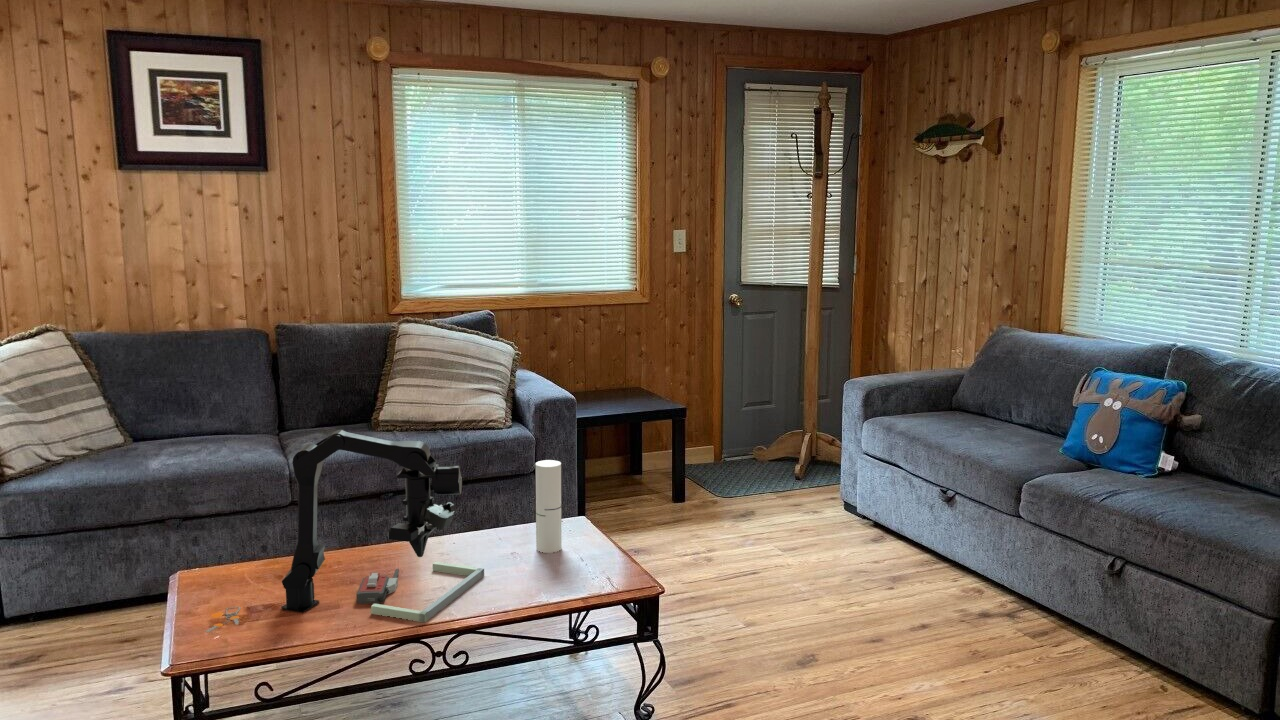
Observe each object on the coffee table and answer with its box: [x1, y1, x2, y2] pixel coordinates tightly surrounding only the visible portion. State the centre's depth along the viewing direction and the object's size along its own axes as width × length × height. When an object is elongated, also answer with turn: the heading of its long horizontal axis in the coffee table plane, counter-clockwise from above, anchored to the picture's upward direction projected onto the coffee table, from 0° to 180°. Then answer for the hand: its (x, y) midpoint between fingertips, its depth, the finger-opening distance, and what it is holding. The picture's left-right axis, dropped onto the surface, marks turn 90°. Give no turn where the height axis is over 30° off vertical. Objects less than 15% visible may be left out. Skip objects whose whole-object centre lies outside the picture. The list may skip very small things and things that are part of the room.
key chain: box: [205, 606, 241, 633], centre depth 225 cm, size 13×7×1 cm, turn 15°
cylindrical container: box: [535, 459, 562, 554], centre depth 270 cm, size 7×7×25 cm
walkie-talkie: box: [356, 568, 400, 605], centre depth 243 cm, size 9×4×20 cm
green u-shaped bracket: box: [370, 561, 485, 624], centre depth 240 cm, size 30×14×2 cm, turn 162°
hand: (420, 556), depth 233 cm, fingers closed
